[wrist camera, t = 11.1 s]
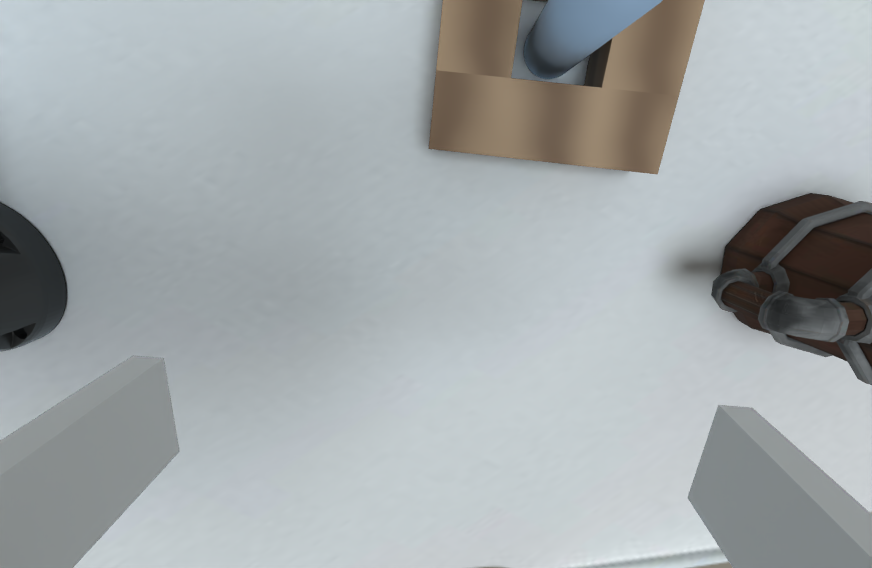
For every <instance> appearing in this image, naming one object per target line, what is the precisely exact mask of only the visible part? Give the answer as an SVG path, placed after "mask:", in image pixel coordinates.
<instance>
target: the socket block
mask: <svg viewBox="0 0 872 568" xmlns="http://www.w3.org/2000/svg"><path fill="white" fill-rule="evenodd" d="M535 1H545V2H548V0H535ZM704 1H705V0H663V1H661V2H660V3H659V4H658V5H656V6H655V7H654V8H652V9H651V10H650V11H648V12H647V13H646V14H644V15H643V16H642V17H640V18H639V19H637V20H636V21H635V22H633V23H632V24H631V25H629V26H628V27H627V28H625V29H624V30H623V31H621V32H620V33H619V34H617V35H616V36H614V37H613V38H612V39H610V40H609V41H608V42H606V43H605V44H604V45H602V46H601V47H600V48H598V49H597V50H596V51H594V52H593V53H591V54H590V58H589V63H588V68H587V73H586V78H585V83H584V86H581V85H571V84H562V83H552V82H543V81H533V80H524V79H514V78H511V74H512V68H513V61H514V54H515V48H516V41H517V34H518V27H519V21H520V14H521V7H522V0H443V4H442V14H441V25H440V35H439V46H438V56H437V67H436V77H435V88H434V98H433V109H432V120H431V130H430V141H429V149H436V150H445V151H454V152H463V153H472V154H481V155H490V156H498V157H507V158H516V159H525V160H534V161H543V162H552V163H561V164H570V165H579V166H588V167H596V168H605V169H614V170H623V171H632V172H641V173H650V174H658V171H659V167H660V163H661V159H662V156H663V152H664V148H665V145H666V141H667V137H668V134H669V130H670V126H671V123H672V119H673V115H674V112H675V108H676V104H677V100H678V97H679V93H680V89H681V86H682V82H683V78H684V75H685V71H686V67H687V64H688V60H689V56H690V52H691V49H692V45H693V41H694V38H695V34H696V30H697V27H698V23H699V19H700V16H701V12H702V8H703V4H704Z"/></svg>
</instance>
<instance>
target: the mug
mask: <svg viewBox="0 0 872 568" xmlns="http://www.w3.org/2000/svg"><path fill="white" fill-rule="evenodd" d="M711 295H712V296H713V298H714V299H715V301H716V302H717V304H718V305H719V307H720V308H721V309H722V310H726V311H730V312H733V313H734V314H735V315H736V317H737V318H738V320H739V321H741V322H742V323H744V324H745V325H747V326H749V327H750V328H752V329H756V330H759V331H763V332H766V333H769V334H771V335H772V336H773V338H774V340H775V341H776V342H778V343H780V344H783V345H786V346H789V347H793V348H796V349H800V350H803V351H807V352H810V353H813V354H817V355H820V356H824V357H828V356H832V355H833V356H836V357H838V358H841V359H843V360H845V361H848V363H849V364H850V366H851V368H852V370H853V371H854V373H855V375H856V376H857V378H858V379H859V380H861V381H863V382H865V383H867V384H870V385H872V203H869V202H863V201H859V202H856V203H852V202H849V201H846V200H842V199H839V198H836V197H832V196H829V195H821V194H813V193H810V194H807V195H804V196H801V197H798V198H795V199H791V200H788V201H785V202H782V203H779V204H776V205H773V206H769V207H766V208H763V209H761V210H760V211H759V212H758V213H757V214H756V215H755V216H754V217H753V218H752V219H751V220H750V221H749V222H748V223H747V224H746V226H745V227H744V228H743V229H742V230H741V231H740V232H739V233H738V234H737V235H736V236H735V237H734V238H733V239H732V240H731V241H730V243H729V244H728V245H727V246H726V249H725V254H724V260H723V266H722V272H721V275H720V276H719V277H718V278H717V279H716V280H715V281H714V282H713V288H712V294H711Z"/></svg>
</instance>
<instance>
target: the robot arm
mask: <svg viewBox="0 0 872 568" xmlns="http://www.w3.org/2000/svg"><path fill="white" fill-rule="evenodd" d="M65 304H66V286H65V280H64V276H63V273H62V270H61V267H60V265H59V262H58V260H57V258H56V256H55V254H54V253H53V251H52V249H51V248H50V246H49V245H48V243H47V242H46V241H45V239H44V238H43V237H42V236H41V234H40V233H39V232H38V231H37V230H36V229H35V228H34V227H33V226H32V225H31V224H30V223H29V222H28V221H27V220H25V219H24V218H23V217H22V216H20V215H19V214H18V213H16V212H15V211H13V210H12V209H10V208H8V207H7V206H5V205H3V204H1V203H0V351H6V350H11V349H14V348H18V347H20V346H23V345H25V344H27V343H30V342H32V341H34V340H36V339H39V338H41V337H43V336H45V335H46V334H48V333H49V332H50V331H52V330H53V329H54V328H55V327H56V325H57V324H58V323H59V321H60V319H61V317H62V315H63V312H64V309H65ZM179 452H180V451H179V445H178V440H177V434H176V428H175V422H174V416H173V410H172V404H171V398H170V392H169V386H168V381H167V375H166V369H165V363H164V358H154V357H142V356H132V357H130V358H128V359H127V360H125V361H124V362H122V363H121V364H119V365H118V366H116V367H114V368H113V369H111V370H110V371H108V372H107V373H105V374H103V375H102V376H100V377H99V378H97V379H96V380H94V381H93V382H91V383H89V384H88V385H86V386H85V387H83V388H82V389H80V390H79V391H77V392H75V393H74V394H72V395H71V396H69V397H68V398H66V399H64V400H63V401H61V402H60V403H58V404H57V405H55V406H54V407H52V408H50V409H49V410H47V411H46V412H44V413H43V414H41V415H40V416H38V417H36V418H35V419H33V420H32V421H30V422H29V423H27V424H25V425H24V426H22V427H21V428H19V429H18V430H16V431H15V432H13V433H11V434H10V435H8V436H7V437H5V438H4V439H2V440H1V441H0V568H73V567H74V566H75V565H76V564H77V563H78V562H79V561H80V560H81V558H82V557H83V556H84V555H85V554H86V553H87V552H88V551H89V550H90V549H91V548H92V546H93V545H94V544H95V543H96V542H97V541H98V540H99V539H100V538H101V537H102V536H103V534H104V533H105V532H106V531H107V530H108V529H109V528H110V527H111V526H112V525H113V524H114V522H115V521H116V520H117V519H118V518H119V517H120V516H121V515H122V514H123V513H124V512H125V510H126V509H127V508H128V507H129V506H130V505H131V504H132V503H133V502H134V501H135V500H136V498H137V497H138V496H139V495H140V494H141V493H142V492H143V491H144V490H145V489H146V488H147V486H148V485H149V484H150V483H151V482H152V481H153V480H154V479H155V478H156V477H157V476H158V474H159V473H160V472H161V471H162V470H163V469H164V468H165V467H166V466H167V465H168V464H169V462H170V461H171V460H172V459H173V458H174V457H175V456H176V455H177V454H178V453H179ZM688 499H689V501H690V502H691V504H692V505H693V507H694V509H695V510H696V512H697V513H698V515H699V516H700V518H701V519H702V521H703V522H704V524H705V526H706V527H707V529H708V530H709V532H710V533H711V535H712V536H713V538H714V539H715V541H716V542H717V544H718V546H719V547H720V549H721V550H722V552H723V553H724V555H725V556H726V558H727V559H728V561H729V562H730V564H731V566H732V567H733V568H872V514H871V513H870V512H869V511H867V510H866V509H865V508H864V507H863V506H862V505H861V504H860V503H858V502H857V501H856V500H855V499H854V498H853V497H852V496H851V495H849V494H848V493H847V492H846V491H845V490H844V489H843V488H842V487H841V486H839V485H838V484H837V483H836V482H835V481H834V480H833V479H832V478H830V477H829V476H828V475H827V474H826V473H825V472H824V471H823V470H821V469H820V468H819V467H818V466H817V465H816V464H815V463H814V462H813V461H811V460H810V459H809V458H808V457H807V456H806V455H805V454H804V453H802V452H801V451H800V450H799V449H798V448H797V447H796V446H795V445H793V444H792V443H791V442H790V441H789V440H788V439H787V438H786V437H784V436H783V435H782V434H781V433H780V432H779V431H778V430H777V429H776V428H774V427H773V426H772V425H771V424H770V423H769V422H768V421H767V420H765V419H764V418H763V417H762V416H761V415H760V414H759V413H758V412H756V411H755V410H754V409H753V408H749V407H737V406H725V405H718V408H717V411H716V414H715V417H714V420H713V423H712V426H711V429H710V432H709V435H708V438H707V441H706V444H705V447H704V450H703V453H702V456H701V459H700V462H699V465H698V468H697V471H696V474H695V477H694V480H693V483H692V486H691V489H690V492H689V495H688Z"/></svg>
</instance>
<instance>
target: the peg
mask: <svg viewBox="0 0 872 568" xmlns="http://www.w3.org/2000/svg"><path fill="white" fill-rule="evenodd" d="M661 1H663V0H548V2H547V3H546V5H545V7H544V9H543V10H542V12H541V14H540V16H539V17H538V19H537V21H536V23H535V24H534V26H533V28H532V30H531V32H530V33H529V35H528V37H527V39H526V42H525V46H524V58H525V62H526V64H527V66H528V68H529V69H530V71H531V72H532V73H533V74H535V75H536V76H538V77H540V78H543V79H553V78H557V77H559V76H561V75H563V74H564V73H566V72H567V71H568V70H570V69H571V68H572V67H574V66H575V65H577V64H578V63H579V62H581V61H582V60H583V59H585V58H586V57H587V56H589V55H590V54H591V53H593V52H594V51H596V50H597V49H598V48H600V47H601V46H602V45H604V44H605V43H606V42H608V41H609V40H610V39H612V38H613V37H614V36H616V35H617V34H619V33H620V32H621V31H623V30H624V29H625V28H627V27H628V26H629V25H631V24H632V23H633V22H635V21H636V20H637V19H639V18H640V17H642V16H643V15H644V14H646V13H647V12H648V11H650V10H651V9H652V8H654V7H655V6H656V5H658V4H659V3H660V2H661Z"/></svg>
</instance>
